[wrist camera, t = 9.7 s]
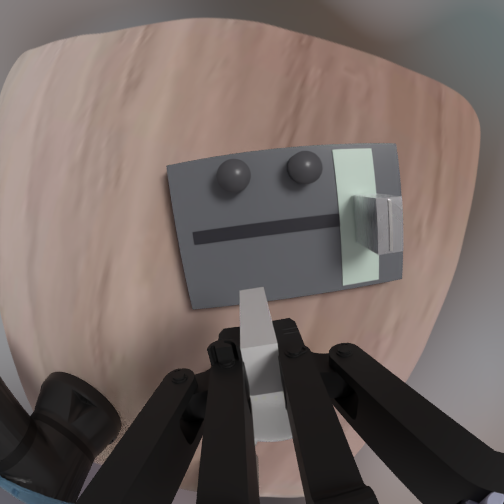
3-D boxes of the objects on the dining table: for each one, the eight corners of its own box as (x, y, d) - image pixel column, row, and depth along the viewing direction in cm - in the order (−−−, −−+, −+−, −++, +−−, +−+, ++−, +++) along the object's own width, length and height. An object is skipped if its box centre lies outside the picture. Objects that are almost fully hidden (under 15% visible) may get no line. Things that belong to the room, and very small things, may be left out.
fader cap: (355, 241, 25) (378, 255, 20) (352, 194, 24) (376, 198, 19) (377, 238, 25) (403, 251, 20) (375, 193, 24) (402, 196, 19)
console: (196, 301, 29) (189, 317, 25) (172, 166, 25) (160, 164, 21) (393, 273, 28) (410, 284, 24) (387, 145, 25) (404, 141, 21)
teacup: (261, 312, 29) (265, 355, 21) (334, 355, 31) (354, 398, 23) (197, 389, 32) (187, 434, 24) (266, 420, 33) (268, 464, 25)
